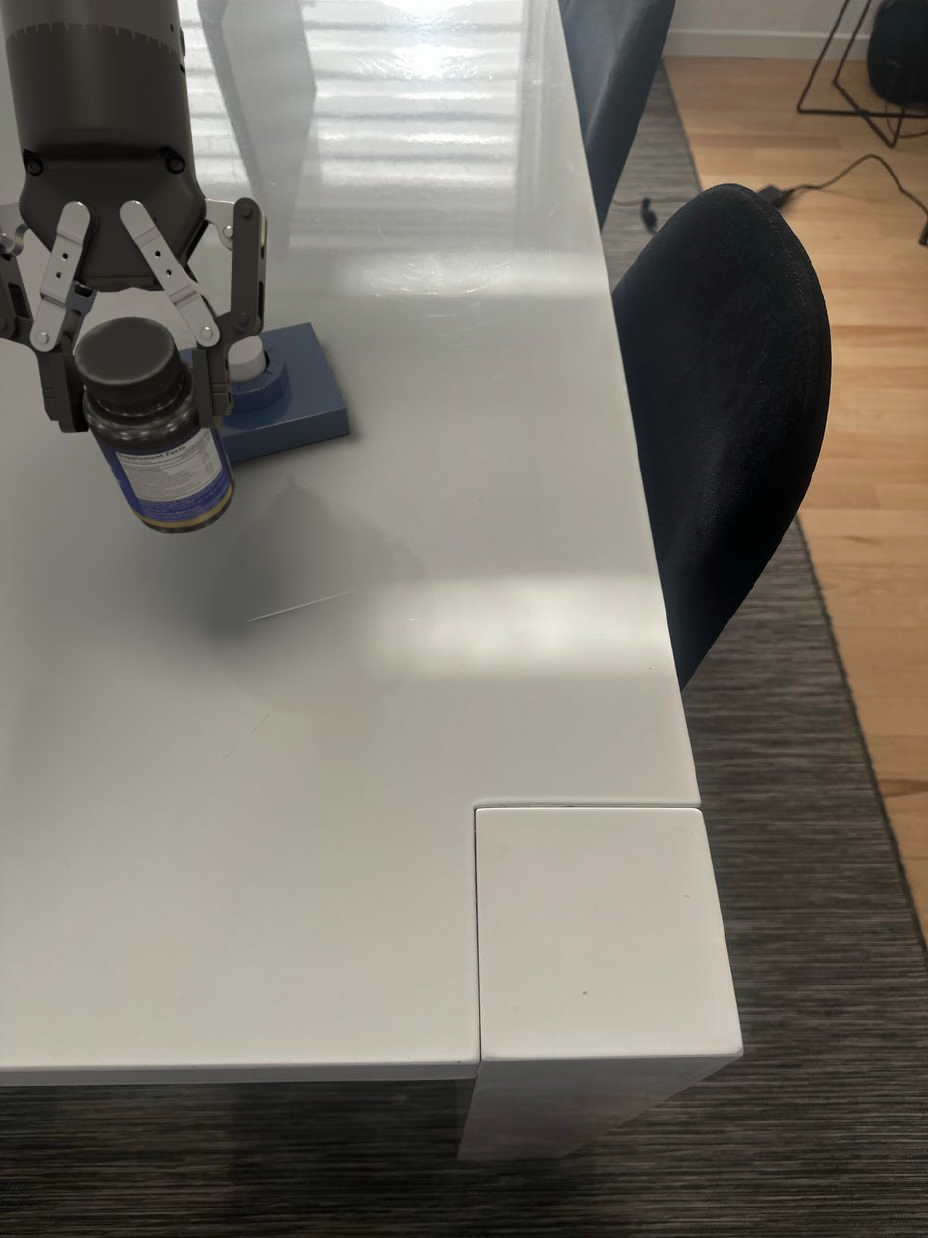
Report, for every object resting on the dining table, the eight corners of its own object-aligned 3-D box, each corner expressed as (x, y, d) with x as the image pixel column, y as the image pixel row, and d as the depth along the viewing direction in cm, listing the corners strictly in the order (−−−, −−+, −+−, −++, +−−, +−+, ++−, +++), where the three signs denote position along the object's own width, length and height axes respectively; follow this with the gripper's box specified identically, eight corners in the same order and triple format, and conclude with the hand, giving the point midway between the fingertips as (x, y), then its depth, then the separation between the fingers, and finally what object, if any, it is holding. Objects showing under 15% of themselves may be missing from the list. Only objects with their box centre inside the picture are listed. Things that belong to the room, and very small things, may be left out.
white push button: (222, 389, 65) (216, 368, 64) (211, 356, 67) (205, 335, 66) (272, 377, 66) (267, 357, 64) (260, 345, 68) (255, 324, 66)
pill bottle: (137, 459, 50) (67, 307, 41) (239, 453, 51) (193, 301, 41) (126, 542, 47) (48, 397, 38) (235, 535, 48) (185, 390, 38)
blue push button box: (181, 476, 67) (164, 431, 62) (157, 384, 72) (139, 337, 68) (350, 433, 70) (344, 388, 65) (314, 348, 75) (307, 301, 71)
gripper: (-118, 13, 34) (-42, 438, 38) (242, 12, 35) (278, 426, 39) (-26, 84, 41) (29, 433, 45) (270, 81, 42) (297, 424, 46)
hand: (144, 428), depth 42 cm, fingers closed on pill bottle, 6 cm apart
